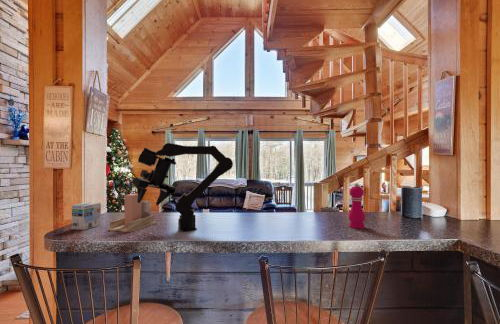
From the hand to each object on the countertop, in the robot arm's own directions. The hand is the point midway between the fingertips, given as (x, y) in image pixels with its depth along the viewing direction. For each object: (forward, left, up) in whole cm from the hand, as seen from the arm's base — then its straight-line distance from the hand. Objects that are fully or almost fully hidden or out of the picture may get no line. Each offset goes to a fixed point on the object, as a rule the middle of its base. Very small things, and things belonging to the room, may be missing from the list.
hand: (147, 204), depth 122 cm
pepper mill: (-81, +45, -12) cm, 94 cm away
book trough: (+4, -12, -12) cm, 17 cm away
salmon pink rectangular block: (+4, -12, -11) cm, 16 cm away
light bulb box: (+22, -23, -12) cm, 34 cm away
